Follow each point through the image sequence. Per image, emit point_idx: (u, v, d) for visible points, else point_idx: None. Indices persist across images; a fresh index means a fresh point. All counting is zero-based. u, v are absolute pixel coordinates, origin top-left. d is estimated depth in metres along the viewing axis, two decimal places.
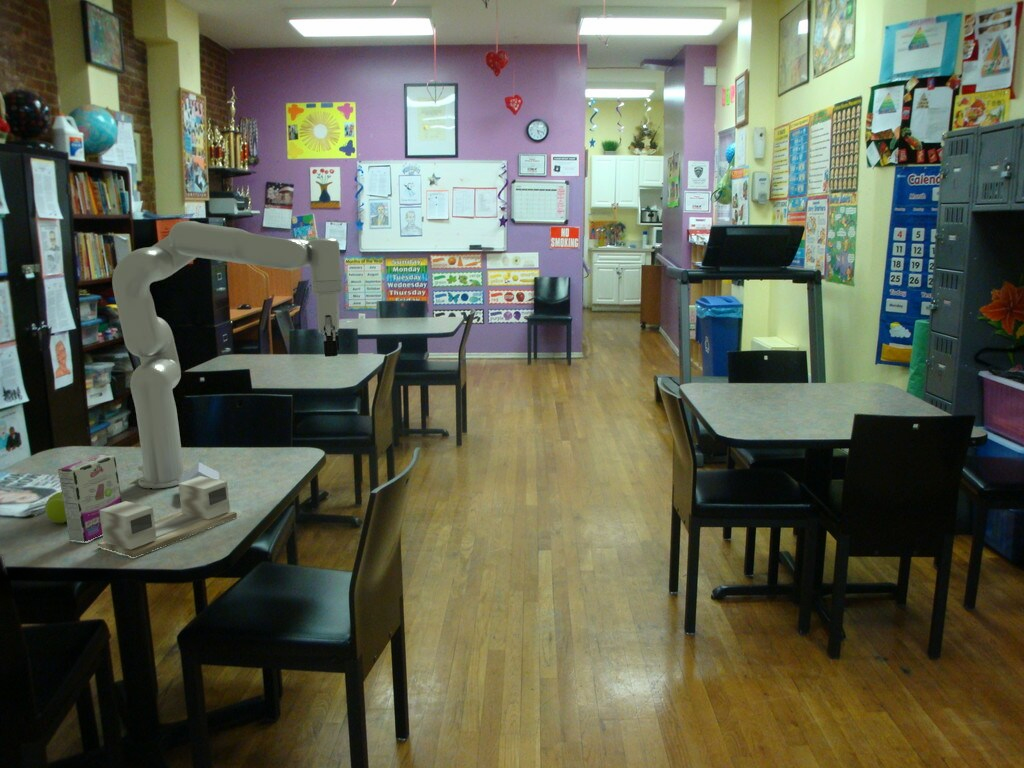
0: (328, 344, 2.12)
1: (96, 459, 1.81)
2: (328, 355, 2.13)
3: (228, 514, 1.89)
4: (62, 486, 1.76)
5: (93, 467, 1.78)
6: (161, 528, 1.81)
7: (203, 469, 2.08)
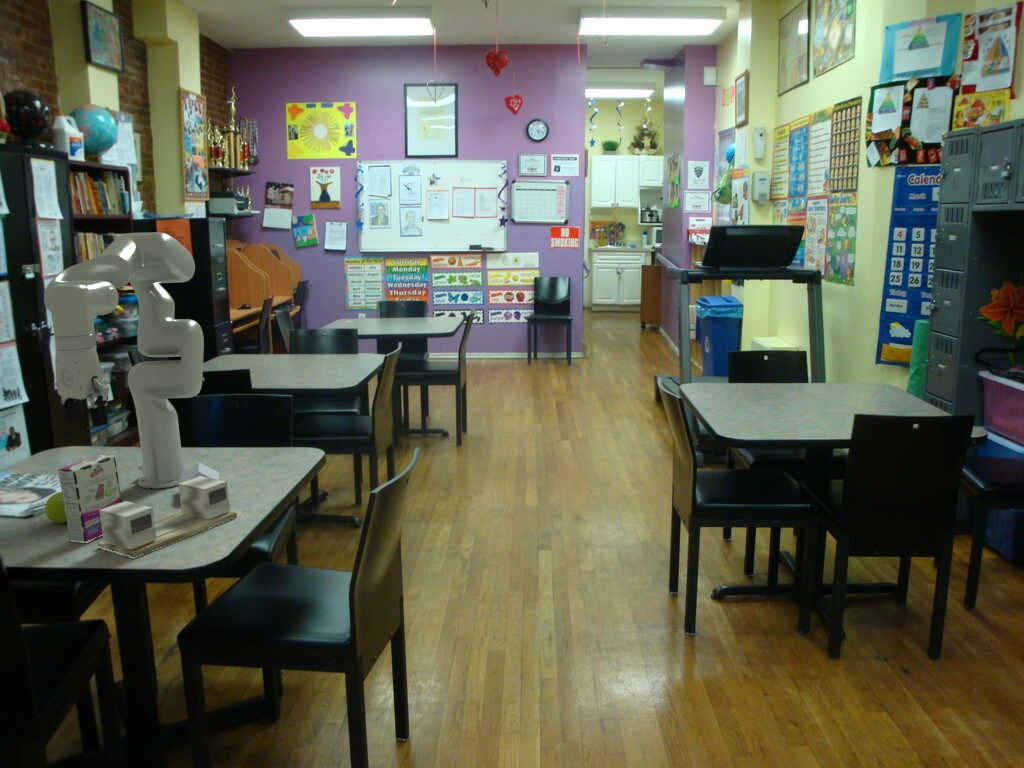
0: (99, 411, 1.74)
1: (96, 459, 1.81)
2: (98, 425, 1.75)
3: (228, 514, 1.89)
4: (62, 486, 1.76)
5: (93, 467, 1.78)
6: (161, 528, 1.81)
7: (203, 469, 2.08)
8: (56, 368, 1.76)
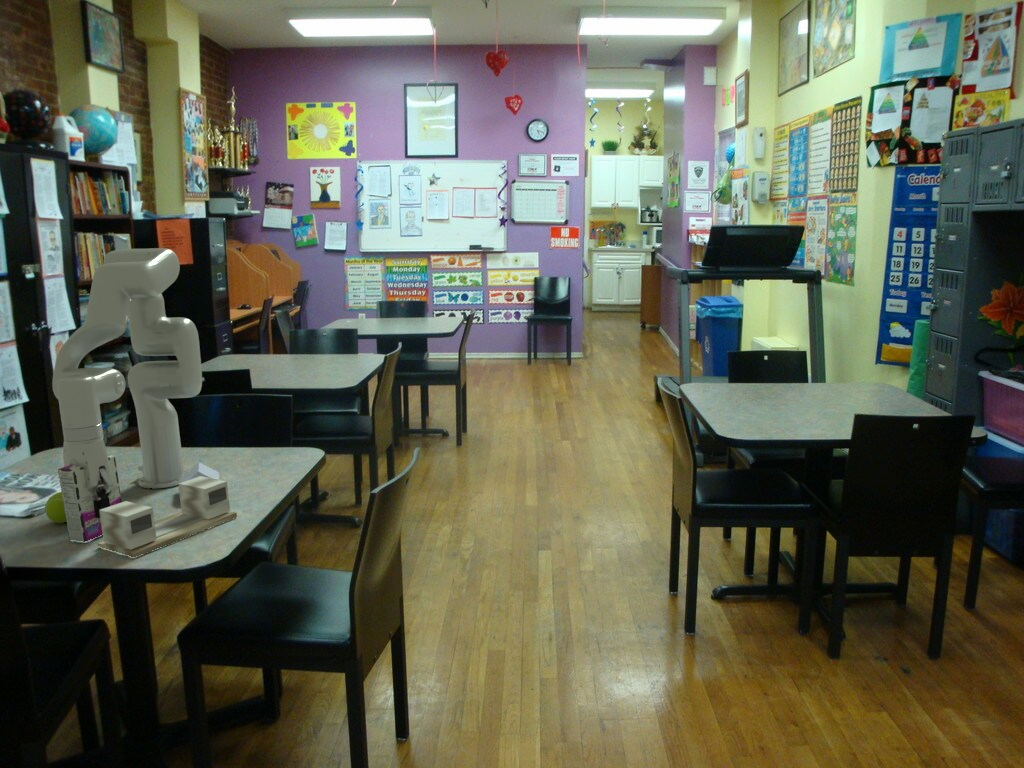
0: (102, 503, 1.79)
1: None
2: None
3: (228, 514, 1.89)
4: (62, 486, 1.76)
5: None
6: (161, 528, 1.81)
7: (203, 469, 2.08)
8: (64, 457, 1.79)
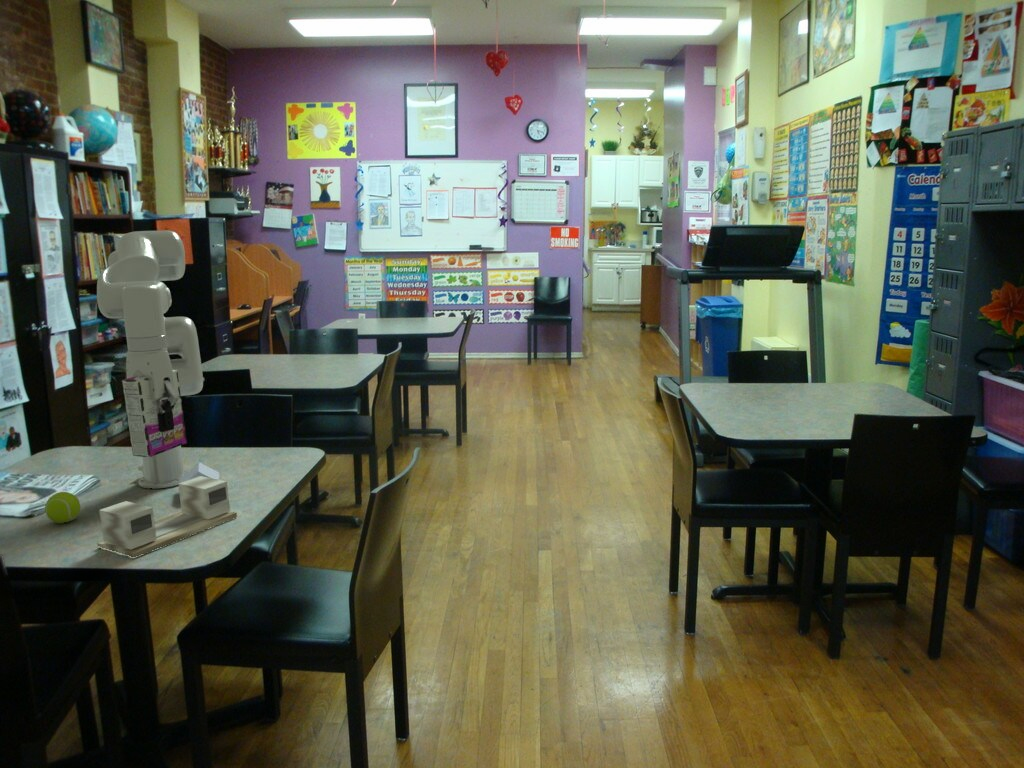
0: (167, 416, 1.75)
1: None
2: (165, 430, 1.75)
3: (228, 514, 1.89)
4: (126, 397, 1.72)
5: None
6: (161, 528, 1.81)
7: (203, 469, 2.08)
8: (127, 369, 1.75)
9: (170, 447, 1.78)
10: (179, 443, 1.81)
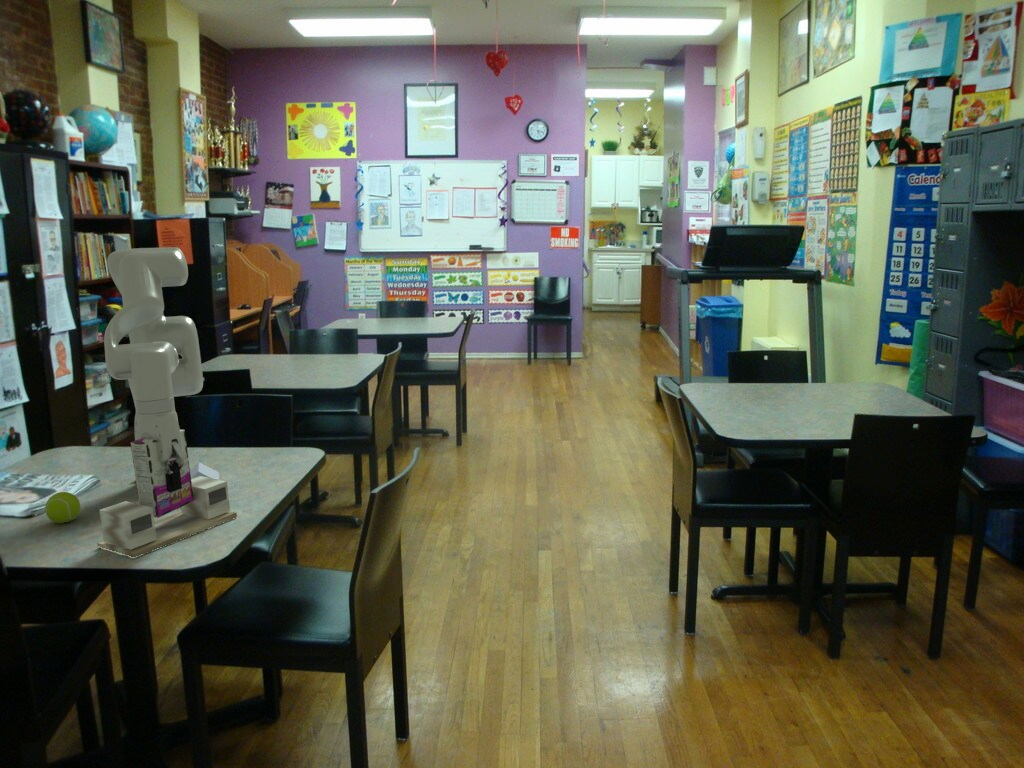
0: (174, 477, 1.77)
1: None
2: (172, 490, 1.78)
3: (228, 514, 1.89)
4: (134, 459, 1.74)
5: None
6: (161, 528, 1.81)
7: (203, 469, 2.08)
8: (135, 430, 1.77)
9: (178, 506, 1.81)
10: (186, 501, 1.83)
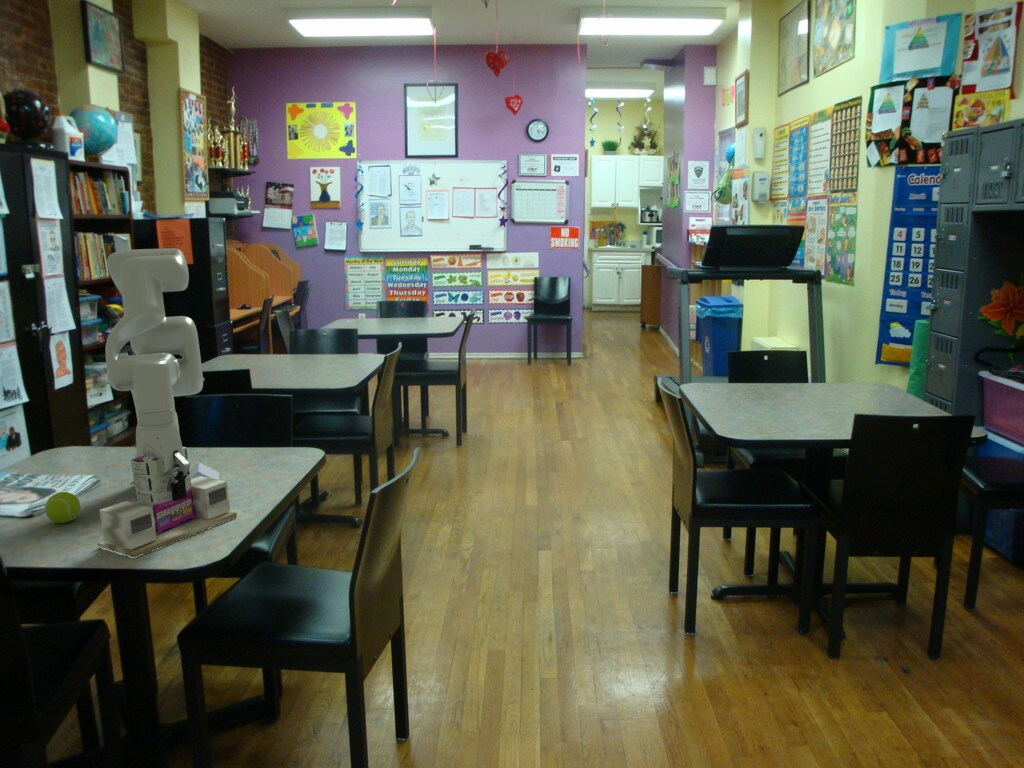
0: (179, 486, 1.77)
1: None
2: (177, 499, 1.77)
3: (228, 514, 1.89)
4: (135, 477, 1.75)
5: None
6: None
7: (203, 469, 2.08)
8: (137, 441, 1.78)
9: (178, 523, 1.82)
10: (187, 518, 1.84)
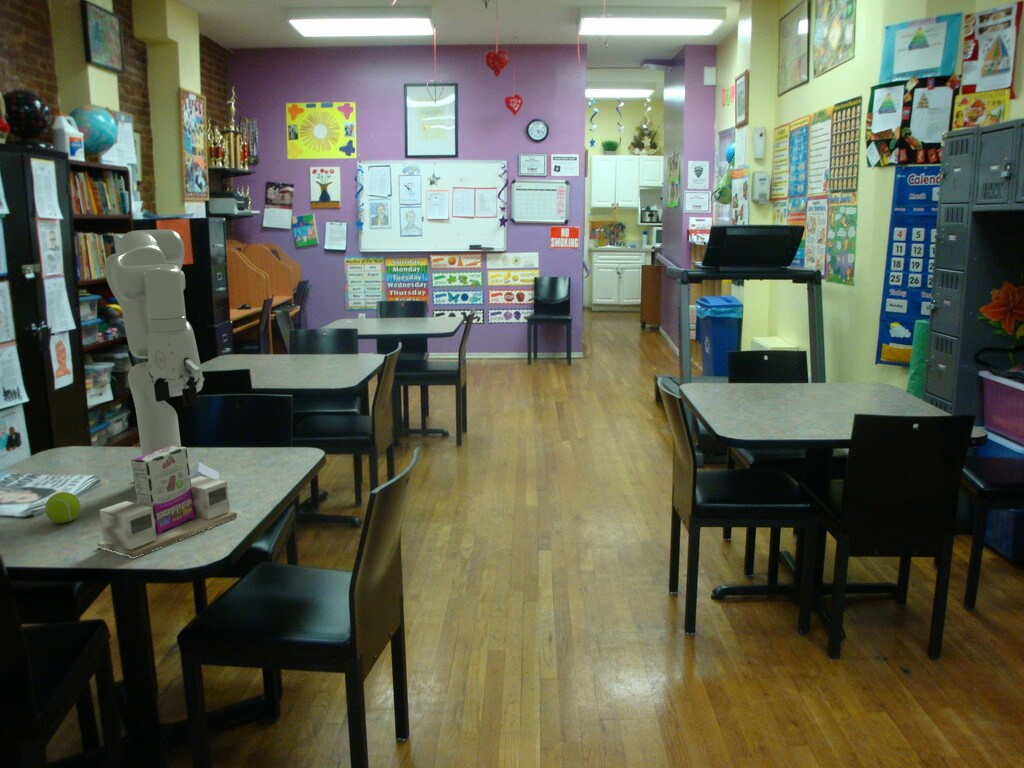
0: (190, 392, 1.80)
1: (168, 450, 1.80)
2: (188, 405, 1.81)
3: (228, 514, 1.89)
4: (135, 477, 1.75)
5: (165, 458, 1.77)
6: None
7: (203, 469, 2.08)
8: (149, 349, 1.81)
9: (178, 523, 1.82)
10: (188, 518, 1.84)
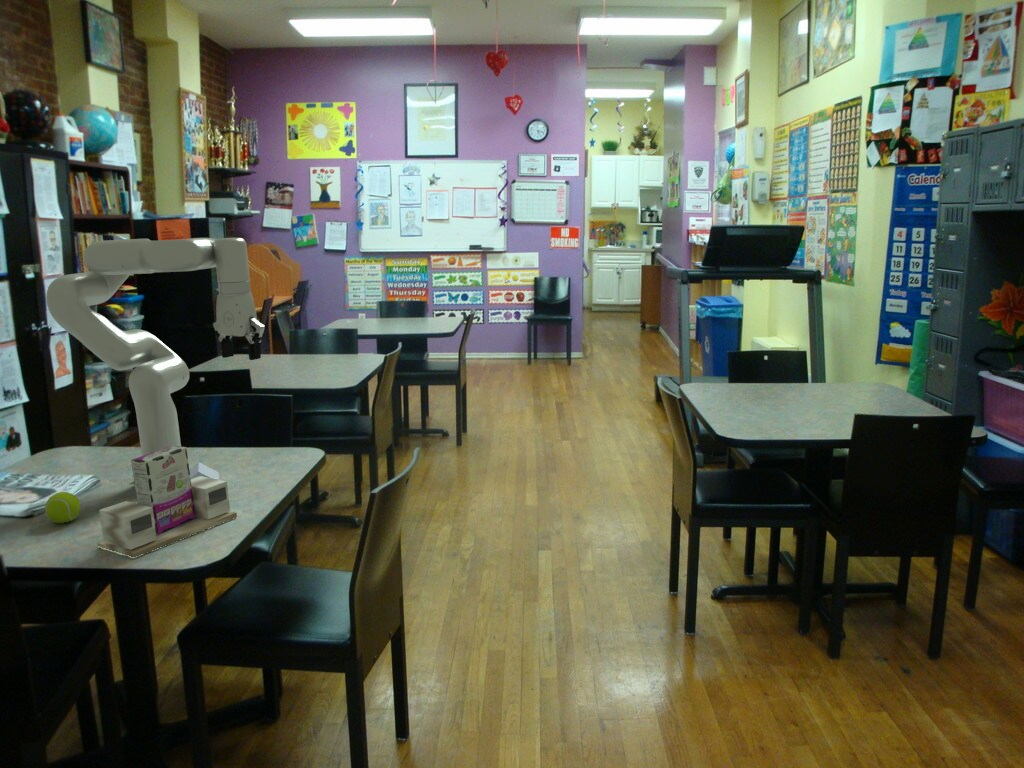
0: (255, 347, 2.05)
1: (168, 450, 1.80)
2: (253, 358, 2.06)
3: (228, 514, 1.89)
4: (135, 477, 1.75)
5: (165, 458, 1.77)
6: None
7: (203, 469, 2.08)
8: (217, 310, 2.06)
9: (178, 523, 1.82)
10: (188, 518, 1.84)
